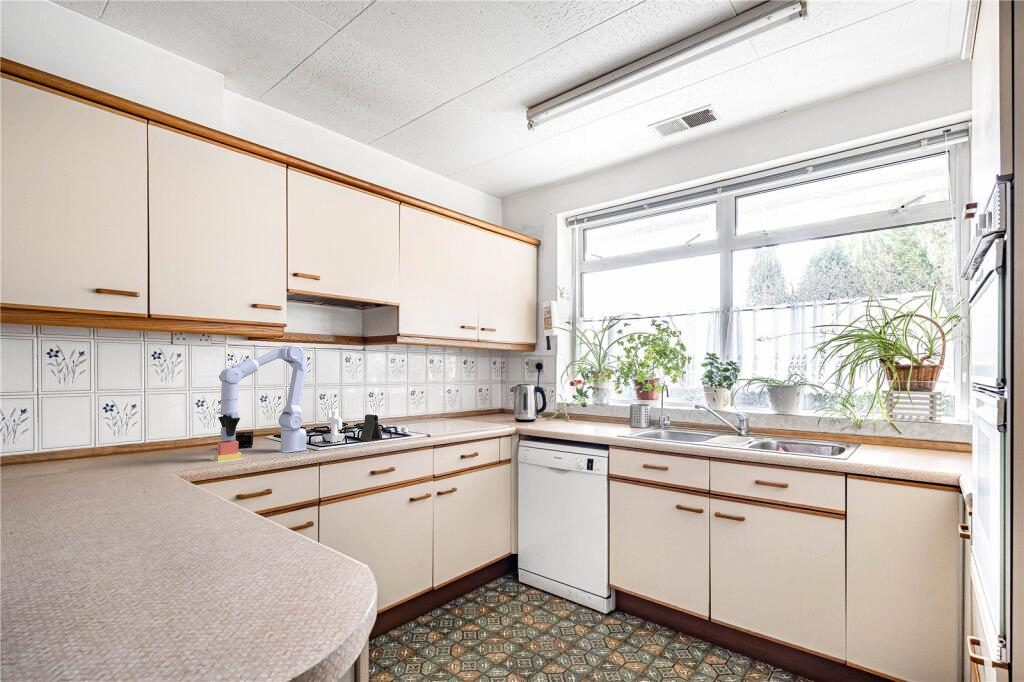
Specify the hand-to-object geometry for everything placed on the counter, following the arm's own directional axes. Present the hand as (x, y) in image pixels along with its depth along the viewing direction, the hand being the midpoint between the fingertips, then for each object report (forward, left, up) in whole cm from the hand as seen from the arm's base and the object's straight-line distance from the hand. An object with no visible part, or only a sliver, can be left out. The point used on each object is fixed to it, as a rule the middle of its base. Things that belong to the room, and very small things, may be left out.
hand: (228, 435), depth 193 cm
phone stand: (-63, -5, -9) cm, 64 cm away
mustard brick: (0, 0, -9) cm, 9 cm away
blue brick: (0, 0, -2) cm, 2 cm away
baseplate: (0, 0, -9) cm, 9 cm away
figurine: (-47, -10, -9) cm, 49 cm away
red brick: (0, 0, -7) cm, 7 cm away
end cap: (-11, -23, -9) cm, 27 cm away
